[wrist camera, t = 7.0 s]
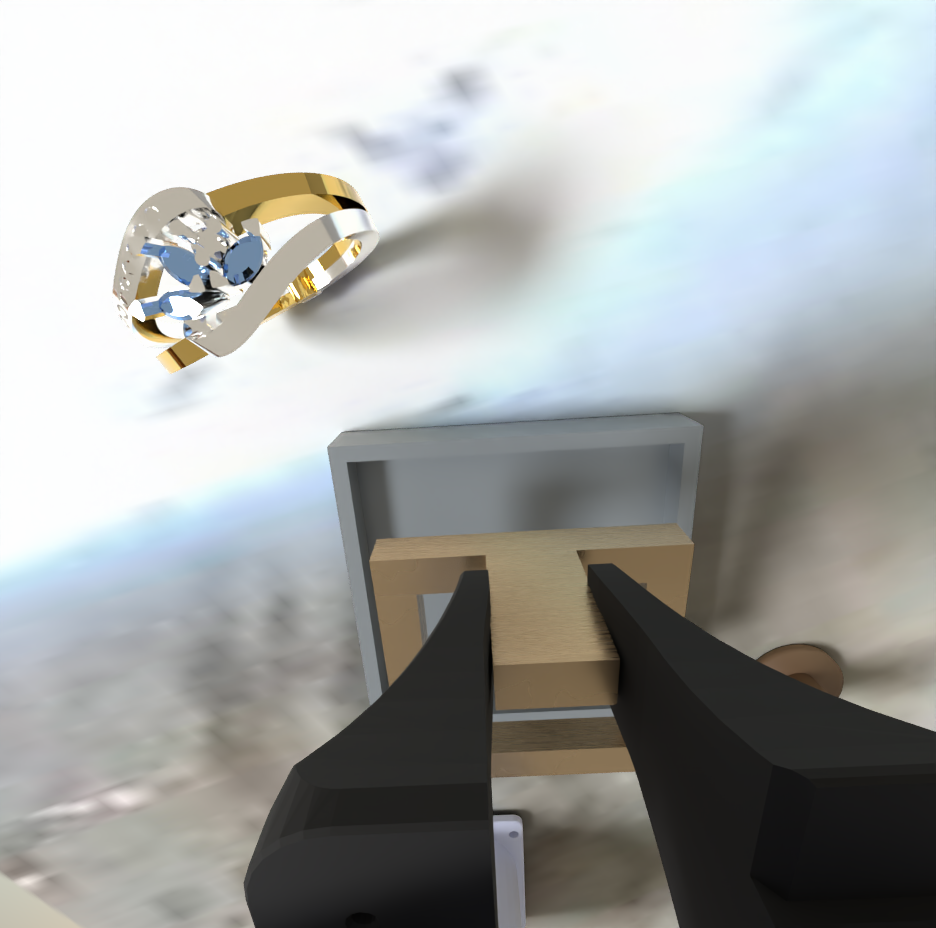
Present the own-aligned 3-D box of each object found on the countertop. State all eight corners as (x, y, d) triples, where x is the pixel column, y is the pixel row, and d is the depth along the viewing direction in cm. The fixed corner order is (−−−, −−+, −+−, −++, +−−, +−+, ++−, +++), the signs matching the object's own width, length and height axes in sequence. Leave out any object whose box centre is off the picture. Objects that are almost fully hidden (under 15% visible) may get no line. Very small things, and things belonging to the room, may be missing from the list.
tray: (654, 681, 23) (672, 716, 21) (381, 694, 23) (373, 729, 21) (679, 412, 18) (703, 425, 16) (341, 432, 18) (327, 447, 17)
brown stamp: (825, 714, 23) (924, 828, 18) (736, 718, 23) (809, 833, 18) (844, 642, 22) (956, 743, 17) (748, 646, 22) (831, 749, 17)
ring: (369, 191, 16) (278, 89, 8) (415, 282, 17) (372, 266, 9) (201, 290, 17) (-18, 282, 9) (253, 371, 18) (94, 424, 10)
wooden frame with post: (651, 738, 17) (723, 917, 12) (408, 749, 17) (385, 929, 13) (676, 522, 14) (787, 651, 9) (376, 538, 14) (329, 673, 9)
